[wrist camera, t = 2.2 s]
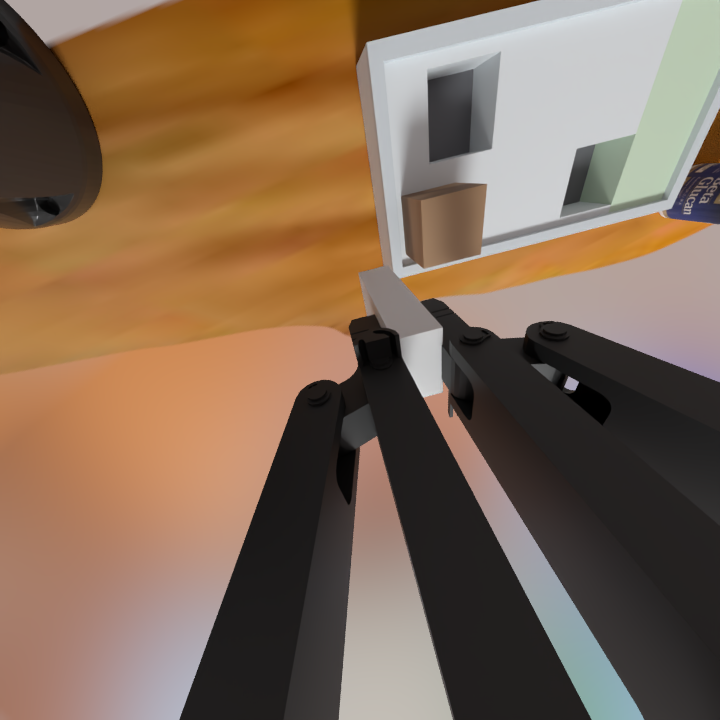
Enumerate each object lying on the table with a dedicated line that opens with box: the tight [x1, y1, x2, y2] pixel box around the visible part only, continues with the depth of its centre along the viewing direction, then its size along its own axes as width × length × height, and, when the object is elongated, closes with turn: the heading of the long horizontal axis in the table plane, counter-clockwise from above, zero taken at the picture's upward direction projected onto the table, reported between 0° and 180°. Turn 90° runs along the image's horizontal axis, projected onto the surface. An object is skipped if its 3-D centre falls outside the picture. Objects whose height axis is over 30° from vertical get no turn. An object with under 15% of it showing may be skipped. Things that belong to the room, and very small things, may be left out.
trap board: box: [356, 0, 720, 278], centre depth 23 cm, size 30×16×5 cm, turn 101°
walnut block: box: [401, 182, 487, 269], centre depth 22 cm, size 5×5×5 cm
